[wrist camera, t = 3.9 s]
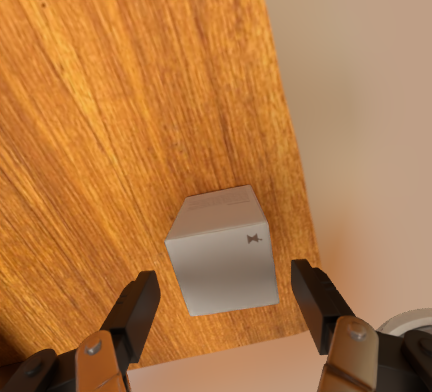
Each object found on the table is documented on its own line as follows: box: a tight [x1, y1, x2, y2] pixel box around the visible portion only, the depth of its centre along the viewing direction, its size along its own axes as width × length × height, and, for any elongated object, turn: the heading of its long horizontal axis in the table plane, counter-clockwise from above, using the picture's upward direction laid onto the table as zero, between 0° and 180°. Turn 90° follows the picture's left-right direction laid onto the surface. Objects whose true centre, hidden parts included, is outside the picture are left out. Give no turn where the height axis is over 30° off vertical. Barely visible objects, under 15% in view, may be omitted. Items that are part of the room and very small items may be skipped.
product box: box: [164, 185, 279, 316], centre depth 15 cm, size 6×6×7 cm
